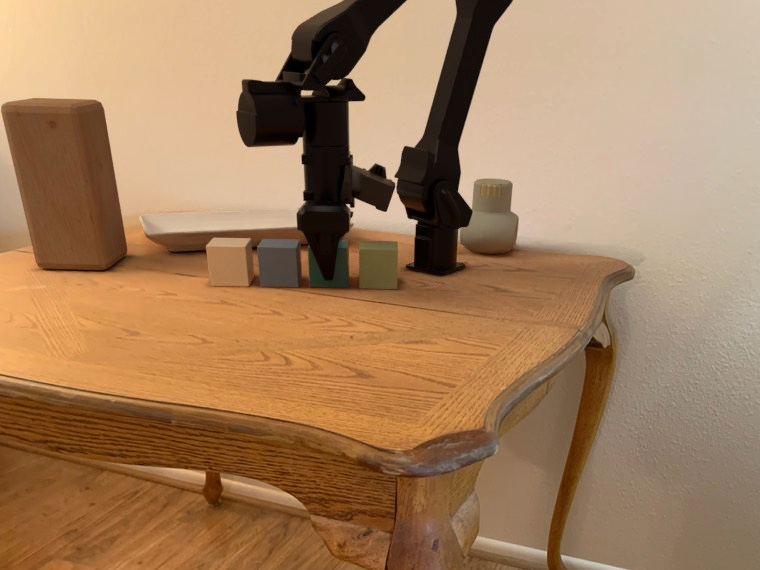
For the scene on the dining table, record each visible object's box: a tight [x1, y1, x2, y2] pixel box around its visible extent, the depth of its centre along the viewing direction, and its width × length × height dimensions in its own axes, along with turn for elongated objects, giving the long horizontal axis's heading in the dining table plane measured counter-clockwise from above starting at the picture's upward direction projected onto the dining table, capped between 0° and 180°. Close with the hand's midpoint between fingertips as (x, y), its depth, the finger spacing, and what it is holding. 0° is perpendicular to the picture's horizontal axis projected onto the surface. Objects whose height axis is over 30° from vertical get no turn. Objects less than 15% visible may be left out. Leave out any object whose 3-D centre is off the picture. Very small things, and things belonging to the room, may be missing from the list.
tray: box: [138, 207, 355, 253], centre depth 122 cm, size 17×31×4 cm, turn 110°
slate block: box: [256, 239, 303, 288], centre depth 101 cm, size 5×5×5 cm
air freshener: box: [459, 178, 519, 255], centre depth 118 cm, size 11×8×10 cm
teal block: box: [307, 239, 350, 289], centre depth 101 cm, size 5×5×5 cm
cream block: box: [205, 238, 255, 287], centre depth 101 cm, size 5×5×5 cm
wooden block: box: [0, 97, 128, 271], centre depth 103 cm, size 10×10×20 cm
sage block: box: [358, 240, 399, 290], centre depth 101 cm, size 5×5×5 cm
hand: (330, 275), depth 102 cm, fingers closed on teal block, 5 cm apart
